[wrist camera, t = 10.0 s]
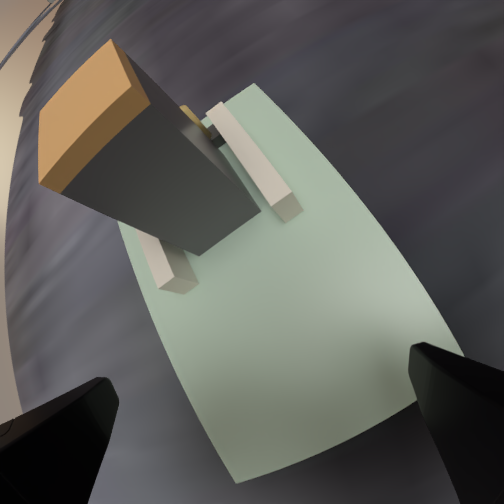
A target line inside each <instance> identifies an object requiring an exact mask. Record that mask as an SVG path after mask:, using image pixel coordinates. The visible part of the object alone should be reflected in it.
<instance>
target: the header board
mask: <svg viewBox="0 0 504 504" xmlns="http://www.w3.org/2000/svg"><path fill="white" fill-rule="evenodd" d="M180 109H181V110H182V111H183V112H184V113H185V114H186V115H187V116H188V117H189V118H190V119H191V120H192V121H193V122H194V123H195V124H196V125H197V126H198V127H199V128H200V129H201V131H202V132H203V133H204V134H205V135H206V136H207V137H208V138H209V139H210V140H211V141H212V142H213V143H214V144H215V146H216V147H217V148H218V149H219V150H220V151H221V152H222V153H223V154H224V155H225V157H226V158H227V160H228V161H229V163H230V164H231V166H232V167H233V169H234V170H235V172H236V173H237V175H238V176H239V178H240V179H241V181H242V182H243V184H244V185H245V187H246V188H247V190H248V191H249V193H250V194H251V196H252V198H253V199H254V201H255V202H256V204H257V205H258V207H259V208H260V210H261V212H260V213H258V214H257V215H256V216H254V217H253V218H251V219H250V220H249V221H247V222H246V223H244V224H243V225H242V226H240V227H239V228H238V229H236V230H235V231H233V232H232V233H231V234H229V235H228V236H227V237H225V238H224V239H222V240H221V241H220V242H218V243H217V244H216V245H214V246H213V247H211V248H210V249H209V250H207V251H206V252H205V253H203V254H202V255H201V256H197V255H195V254H192V253H190V252H188V251H186V250H183V249H181V248H179V247H176V246H174V245H172V244H170V243H167V242H165V241H163V240H160V239H158V238H156V237H154V236H151V235H149V234H147V233H145V232H142V231H140V230H138V229H136V228H133V227H131V226H129V225H127V224H125V223H122V222H120V221H118V220H117V221H118V224H119V227H120V231H121V234H122V237H123V240H124V243H125V246H126V249H127V252H128V255H129V258H130V261H131V264H132V266H133V269H134V272H135V275H136V278H137V280H138V283H139V286H140V288H141V291H142V294H143V296H144V299H145V302H146V304H147V307H148V309H149V312H150V314H151V317H152V319H153V322H154V324H155V326H156V329H157V331H158V334H159V336H160V338H161V341H162V343H163V345H164V348H165V350H166V352H167V354H168V357H169V359H170V361H171V363H172V365H173V368H174V370H175V372H176V374H177V376H178V378H179V380H180V382H181V384H182V387H183V389H184V391H185V393H186V395H187V397H188V399H189V401H190V403H191V405H192V407H193V409H194V411H195V412H196V414H197V416H198V418H199V420H200V422H201V424H202V426H203V428H204V429H205V431H206V433H207V435H208V437H209V439H210V440H211V442H212V444H213V446H214V447H215V449H216V451H217V453H218V454H219V456H220V458H221V460H222V461H223V463H224V465H225V466H226V468H227V470H228V471H229V473H230V475H231V476H232V478H233V479H234V481H235V483H236V484H237V483H240V482H243V481H247V480H250V479H253V478H256V477H259V476H262V475H265V474H268V473H271V472H274V471H276V470H279V469H282V468H284V467H287V466H290V465H292V464H295V463H297V462H300V461H302V460H305V459H307V458H309V457H312V456H314V455H316V454H319V453H321V452H323V451H325V450H327V449H330V448H332V447H334V446H336V445H338V444H340V443H342V442H344V441H346V440H348V439H350V438H352V437H354V436H356V435H358V434H360V433H362V432H364V431H366V430H367V429H369V428H371V427H373V426H375V425H377V424H378V423H380V422H382V421H384V420H385V419H387V418H389V417H390V416H392V415H394V414H395V413H397V412H399V411H400V410H402V409H404V408H405V407H407V406H408V405H410V404H412V403H413V402H415V401H416V400H417V398H416V395H415V392H414V389H413V386H412V383H411V380H410V378H409V374H408V363H409V351H410V347H411V345H413V344H416V343H420V342H426V343H429V344H432V345H434V346H437V347H440V348H442V349H445V350H447V351H450V352H453V353H455V354H458V355H461V356H463V357H465V356H464V354H463V353H462V351H461V349H460V347H459V345H458V344H457V342H456V340H455V338H454V337H453V335H452V333H451V331H450V330H449V328H448V326H447V324H446V323H445V321H444V319H443V318H442V316H441V314H440V313H439V311H438V309H437V308H436V306H435V305H434V303H433V301H432V300H431V298H430V297H429V295H428V294H427V292H426V290H425V289H424V287H423V286H422V284H421V283H420V281H419V280H418V278H417V277H416V275H415V274H414V272H413V271H412V269H411V268H410V266H409V265H408V263H407V262H406V260H405V259H404V258H403V256H402V255H401V253H400V252H399V250H398V249H397V248H396V246H395V245H394V243H393V242H392V241H391V239H390V238H389V237H388V235H387V234H386V232H385V231H384V230H383V228H382V227H381V226H380V224H379V223H378V222H377V220H376V219H375V218H374V217H373V215H372V214H371V213H370V211H369V210H368V209H367V207H366V206H365V205H364V204H363V202H362V201H361V200H360V199H359V197H358V196H357V195H356V194H355V192H354V191H353V190H352V189H351V187H350V186H349V185H348V184H347V183H346V181H345V180H344V179H343V178H342V177H341V175H340V174H339V173H338V172H337V171H336V169H335V168H334V167H333V166H332V165H331V164H330V162H329V161H328V160H327V159H326V158H325V157H324V156H323V154H322V153H321V152H320V151H319V150H318V149H317V148H316V147H315V145H314V144H313V143H312V142H311V141H310V140H309V139H308V138H307V137H306V136H305V135H304V133H303V132H302V131H301V130H300V129H299V128H298V127H297V126H296V125H295V124H294V123H293V122H292V121H291V120H290V119H289V118H288V116H287V115H286V114H285V113H284V112H283V111H282V110H281V109H280V108H279V107H278V106H277V105H276V104H275V103H274V102H273V101H272V100H271V99H270V98H269V97H268V96H267V95H266V94H265V93H264V92H263V91H262V90H261V89H260V88H259V87H257V86H256V85H255V84H254V83H253V84H252V85H250V86H249V87H247V88H246V89H244V90H243V91H242V92H240V93H239V94H237V95H236V96H234V97H233V98H231V99H230V100H229V101H227V102H226V103H224V104H223V103H222V102H220V103H219V104H217V105H216V106H215V107H213V108H212V109H211V110H209V111H208V112H207V113H206V115H207V117H205V118H204V119H203V120H201V121H200V120H199V119H198V118H197V117H196V116H195V115H194V114H193V113H192V111H191V110H190V109H189V108H188V107H187V106H185V105H183V106H180Z"/></svg>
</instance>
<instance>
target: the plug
mask: <svg viewBox="0 0 504 504" xmlns="http://www.w3.org/2000/svg"><path fill="white" fill-rule="evenodd" d="M38 172H39V184H40V185H42V186H44V187H47V188H49V189H51V190H53V191H55V192H57V193H59V194H61V195H64V196H66V197H68V198H70V199H72V200H74V201H76V202H79V203H81V204H83V205H85V206H87V207H89V208H92V209H94V210H96V211H98V212H100V213H103V214H105V215H107V216H109V217H111V218H114V219H116V220H118V221H120V222H122V223H125V224H127V225H129V226H131V227H133V228H136V229H138V230H140V231H142V232H145V233H147V234H149V235H151V236H154V237H156V238H158V239H160V240H163V241H165V242H167V243H170V244H172V245H174V246H176V247H179V248H181V249H183V250H186V251H188V252H190V253H192V254H195V255H197V256H201V255H202V254H203V253H205V252H206V251H207V250H209V249H210V248H211V247H213V246H214V245H216V244H217V243H218V242H220V241H221V240H222V239H224V238H225V237H227V236H228V235H229V234H231V233H232V232H233V231H235V230H236V229H238V228H239V227H240V226H242V225H243V224H244V223H246V222H247V221H249V220H250V219H251V218H253V217H254V216H256V215H257V214H258V213H260V212H261V210H260V208H259V207H258V205H257V204H256V202H255V201H254V199H253V198H252V196H251V194H250V193H249V191H248V190H247V188H246V187H245V185H244V184H243V182H242V181H241V179H240V178H239V176H238V175H237V173H236V172H235V170H234V169H233V167H232V166H231V164H230V163H229V161H228V160H227V158H226V157H225V155H224V154H223V153H222V152H221V151H220V150H219V149H218V148H217V147H216V146H215V144H214V143H213V142H212V141H211V140H210V139H209V138H208V137H207V136H206V135H205V134H204V133H203V132H202V131H201V129H200V128H199V127H198V126H197V125H196V124H195V123H194V122H193V121H192V120H191V119H190V118H189V117H188V116H187V115H186V114H185V113H184V112H183V111H182V110H181V109H180V107H179V106H178V105H177V104H176V103H175V102H174V101H173V100H172V99H171V98H170V97H169V96H168V95H167V94H166V93H165V92H164V91H163V90H162V89H161V88H160V87H159V86H158V85H157V84H156V83H155V82H154V81H153V80H152V79H151V78H150V77H149V76H148V75H147V74H146V73H145V72H144V71H143V70H142V69H141V68H140V67H139V66H138V65H137V64H136V63H135V62H134V61H133V60H132V59H131V58H130V57H129V56H128V55H127V54H126V53H125V52H124V51H123V50H122V49H121V48H120V47H119V46H118V45H117V44H115V43H114V42H113V41H112V40H111V39H110V40H109V41H108V42H107V43H106V44H104V45H103V46H102V47H101V48H100V49H99V50H98V51H97V52H96V53H95V54H94V55H92V56H91V57H90V58H89V59H88V60H87V61H86V62H85V63H84V64H83V65H82V66H81V67H80V68H79V69H78V70H77V71H76V72H75V73H74V74H73V75H72V76H71V77H70V78H69V79H68V80H67V81H66V83H65V84H64V85H63V86H62V87H61V88H60V89H59V90H58V91H57V92H56V94H55V95H54V96H53V97H52V98H51V99H50V100H49V102H48V103H47V104H46V105H45V106H44V107H43V109H42V110H41V111H40V118H39V143H38Z"/></svg>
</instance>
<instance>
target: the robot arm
mask: <svg viewBox="0 0 504 504" xmlns="http://www.w3.org/2000/svg"><path fill="white" fill-rule="evenodd" d="M408 374H409V378H410V380H411V383H412V386H413V389H414V392H415V395H416V398H417V401H418V404H419V407H420V410H421V412H422V415H423V418H424V420H425V422H426V425H427V427H428V429H429V431H430V433H431V435H432V437H433V440H434V442H435V444H436V446H437V448H438V451H439V453H440V455H441V457H442V460H443V462H444V464H445V467H446V469H447V471H448V474H449V476H450V479H451V481H452V483H453V486H454V488H455V491H456V493H457V496H458V498H459V501H460V504H504V371H501V370H499V369H496V368H493V367H490V366H488V365H485V364H482V363H479V362H477V361H474V360H471V359H469V358H466V357H463V356H461V355H458V354H455V353H453V352H450V351H447V350H445V349H442V348H440V347H437V346H434V345H432V344H429V343H426V342H420V343H416V344H413V345H411V347H410V351H409V363H408ZM118 407H119V398H118V396H117V394H116V391H115V389H114V387H113V385H112V383H111V381H110V379H109V378H107V377H96V378H94V379H92V380H90V381H88V382H86V383H84V384H82V385H80V386H79V387H77V388H75V389H73V390H71V391H69V392H67V393H65V394H63V395H61V396H59V397H57V398H55V399H53V400H51V401H49V402H47V403H45V404H43V405H41V406H39V407H37V408H35V409H32V410H30V411H28V412H26V413H24V414H22V415H20V416H18V417H16V418H15V419H12V420H10V421H7V422H5V423H3V424H1V425H0V504H88V501H89V498H90V495H91V492H92V489H93V486H94V483H95V480H96V477H97V475H98V472H99V469H100V466H101V463H102V460H103V458H104V455H105V452H106V450H107V447H108V444H109V441H110V437H111V433H112V429H113V425H114V422H115V418H116V414H117V410H118Z"/></svg>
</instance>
